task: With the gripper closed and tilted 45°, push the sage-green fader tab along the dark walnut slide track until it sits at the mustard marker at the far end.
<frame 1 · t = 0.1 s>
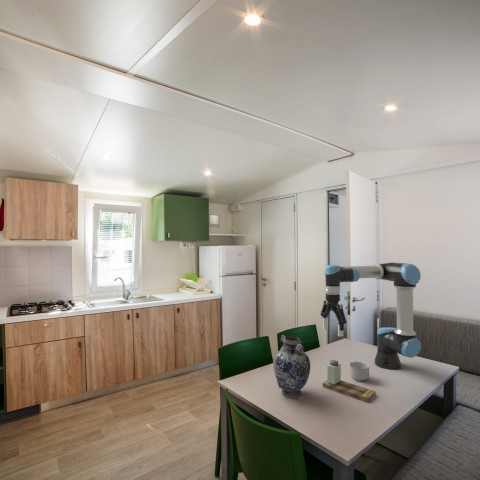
hand: (332, 332, 170), 28 cm above the table, tool pointing down, fingers open, 13 cm apart
teacup: (358, 377, 179), on the table
fader tab: (334, 371, 168), point 8 cm above the table, slide at 0.0 cm
decorative vase: (291, 393, 160), on the table
fader track: (348, 391, 163), on the table
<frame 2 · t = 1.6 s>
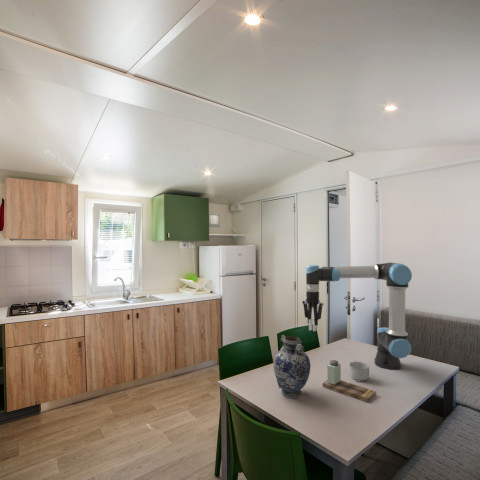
hand: (312, 330, 188), 24 cm above the table, tool pointing down, fingers open, 2 cm apart
nothing on the table moved.
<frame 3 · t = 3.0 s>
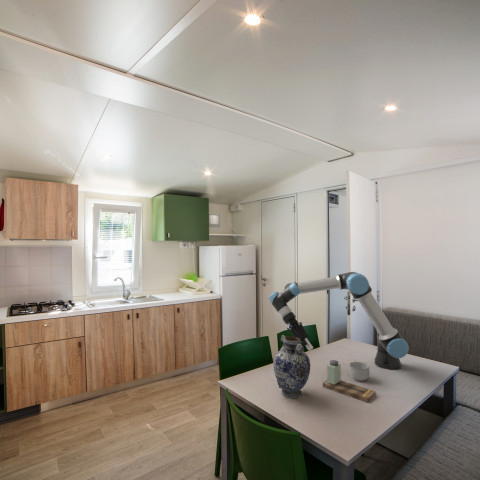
hand: (311, 349, 178), 16 cm above the table, tool tilted 45°, fingers closed
nothing on the table moved.
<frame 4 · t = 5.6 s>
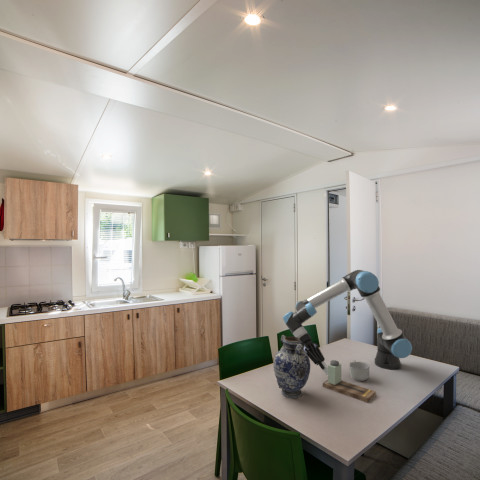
hand: (328, 373, 170), 6 cm above the table, tool tilted 45°, fingers closed
fader tab: (334, 371, 168), point 8 cm above the table, slide at 0.4 cm, touching gripper
everything else where it was.
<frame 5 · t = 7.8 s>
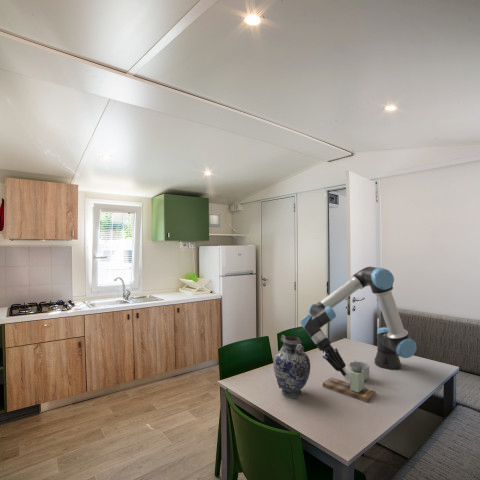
hand: (350, 380, 161), 6 cm above the table, tool tilted 45°, fingers closed
fader tab: (357, 378, 160), point 8 cm above the table, slide at 12.6 cm, touching gripper
everything else where it was.
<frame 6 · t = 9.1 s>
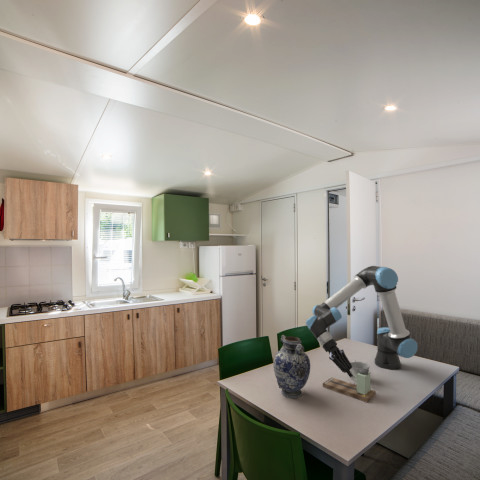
hand: (357, 382, 160), 6 cm above the table, tool tilted 45°, fingers closed
fader tab: (363, 380, 157), point 8 cm above the table, slide at 16.0 cm, touching gripper
everything else where it was.
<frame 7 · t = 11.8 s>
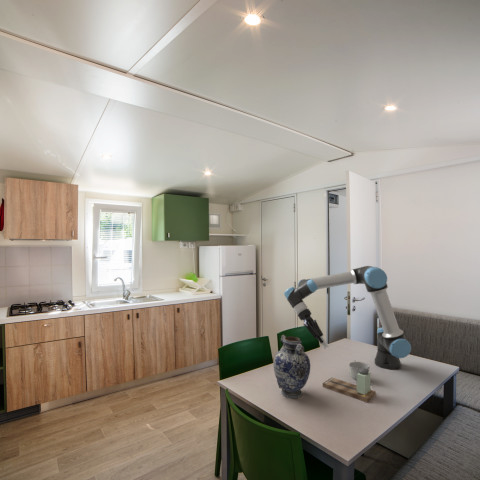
hand: (326, 347, 174), 19 cm above the table, tool tilted 40°, fingers closed
fader tab: (363, 380, 157), point 8 cm above the table, slide at 16.0 cm
everything else where it was.
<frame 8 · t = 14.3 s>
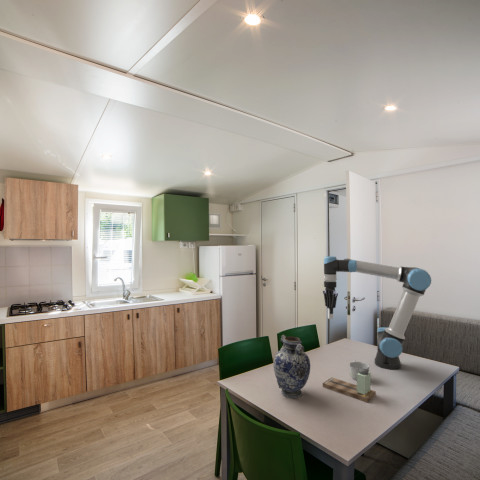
hand: (330, 318, 197), 29 cm above the table, tool pointing down, fingers closed
nothing on the table moved.
at the end: fader tab slide at 16.0 cm; teacup moved 0.3 cm from its start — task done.
